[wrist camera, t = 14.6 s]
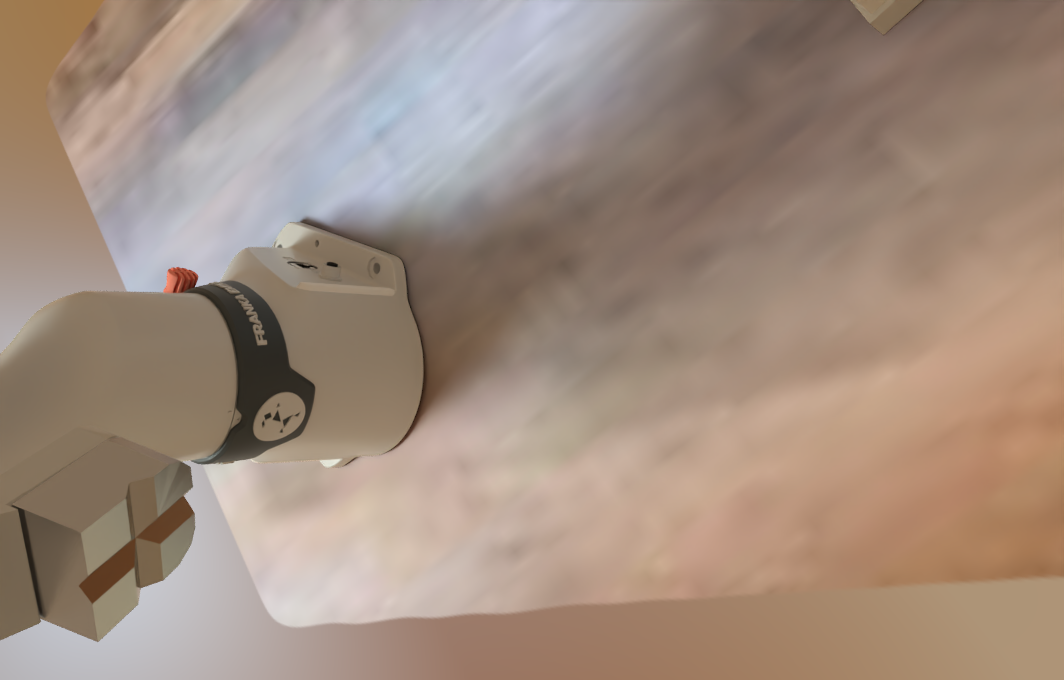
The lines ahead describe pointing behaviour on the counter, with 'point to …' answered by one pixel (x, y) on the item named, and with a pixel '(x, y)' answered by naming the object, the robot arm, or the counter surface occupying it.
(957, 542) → the counter surface
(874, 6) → the cream stand
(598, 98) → the counter surface
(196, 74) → the counter surface
